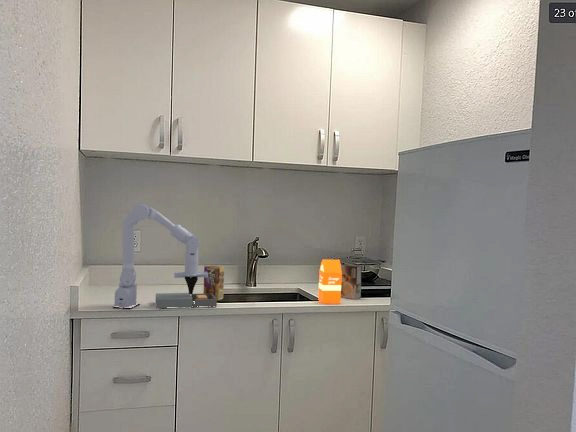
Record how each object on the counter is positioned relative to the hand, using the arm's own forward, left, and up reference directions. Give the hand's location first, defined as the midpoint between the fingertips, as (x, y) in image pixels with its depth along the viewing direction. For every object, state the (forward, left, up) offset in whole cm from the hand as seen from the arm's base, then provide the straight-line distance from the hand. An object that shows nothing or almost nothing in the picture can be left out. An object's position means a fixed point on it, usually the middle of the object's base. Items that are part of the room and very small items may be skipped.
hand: (190, 293), depth 224 cm
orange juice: (+28, -58, -5) cm, 65 cm away
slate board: (-3, +6, -5) cm, 9 cm away
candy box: (+16, -5, -5) cm, 17 cm away
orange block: (+3, -4, -1) cm, 5 cm away
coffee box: (+42, -67, -5) cm, 80 cm away
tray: (+2, -5, -5) cm, 7 cm away
